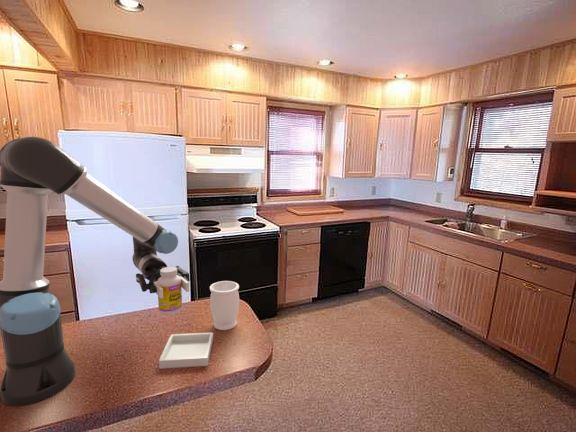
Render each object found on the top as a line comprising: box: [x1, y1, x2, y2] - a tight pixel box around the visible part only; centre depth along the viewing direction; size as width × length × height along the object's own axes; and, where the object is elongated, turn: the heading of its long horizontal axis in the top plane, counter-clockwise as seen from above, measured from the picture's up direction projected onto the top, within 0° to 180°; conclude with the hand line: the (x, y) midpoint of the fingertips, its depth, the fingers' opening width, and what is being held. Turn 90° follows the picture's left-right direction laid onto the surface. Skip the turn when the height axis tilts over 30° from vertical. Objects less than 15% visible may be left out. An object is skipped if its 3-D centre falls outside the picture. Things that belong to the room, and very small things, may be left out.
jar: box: [209, 280, 240, 331], centre depth 109 cm, size 11×10×15 cm
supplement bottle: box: [156, 266, 183, 315], centre depth 90 cm, size 7×7×13 cm
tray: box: [158, 331, 214, 370], centre depth 94 cm, size 14×14×2 cm
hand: (175, 290), depth 86 cm, fingers closed on supplement bottle, 7 cm apart
